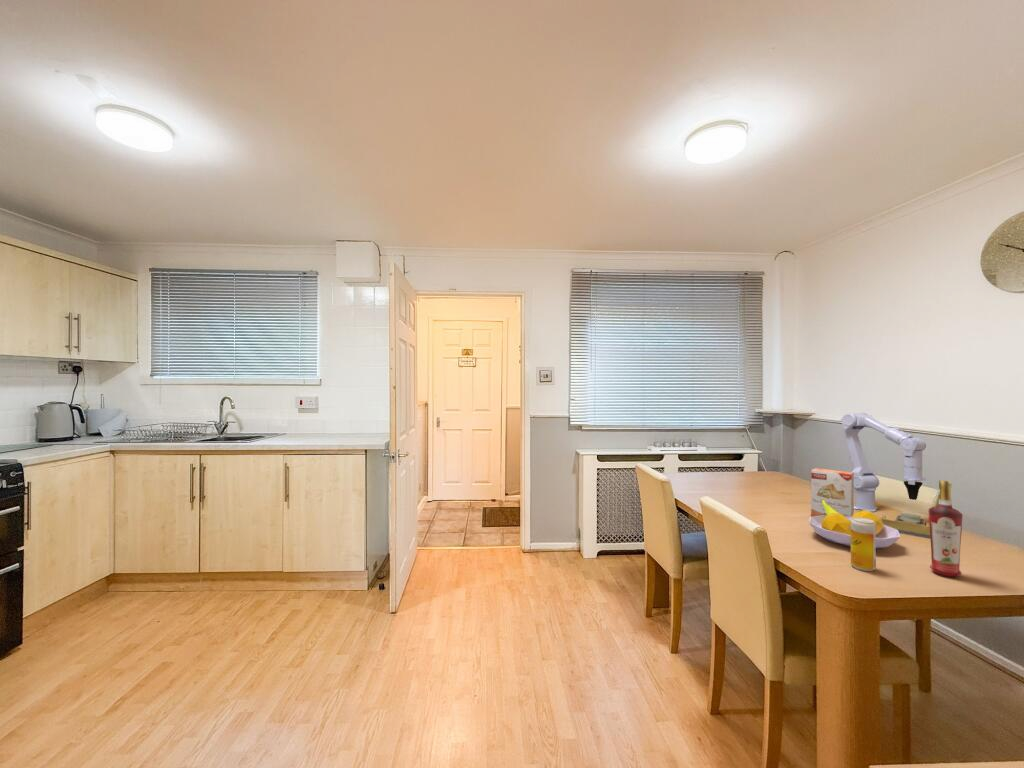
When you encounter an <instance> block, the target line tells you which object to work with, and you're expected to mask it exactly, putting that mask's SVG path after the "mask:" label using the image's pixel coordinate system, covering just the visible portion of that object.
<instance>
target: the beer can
mask: <svg viewBox="0 0 1024 768" xmlns="http://www.w3.org/2000/svg"><path fill="white" fill-rule="evenodd" d="M876 549H877V548H876V525H875V523H874V521H872V520H870V519H866V518H852V521H851V546H850V565H852V567H853V568H854V569H857V570H859V571H864V572H873V571H874V570H875V569H877V564H876V563H877V562H876V561H877V560H876V559H877V556H876V555H877V553H876V551H877V550H876Z"/></svg>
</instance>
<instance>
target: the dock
mask: <svg viewBox="0 0 1024 768" xmlns="http://www.w3.org/2000/svg"><path fill="white" fill-rule="evenodd" d="M880 518H881V519H882V523H883V525H886V526H889V527H891V528H894V529H896V530H898V532H899V534H904V535H908V536H914V537H920V538H925V539H930V540H931V538H930V527H929V525H926V526H924V525H918V524H912V523H906V522H900V521H895V520H892V519H887V515H885V514H884V515H882V516H881V517H880Z"/></svg>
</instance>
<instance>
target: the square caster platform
mask: <svg viewBox="0 0 1024 768" xmlns="http://www.w3.org/2000/svg"><path fill="white" fill-rule="evenodd" d="M921 517H922V516H921V514H918V513H913V512H904V511H901V512H900V514H898V515H897V516H896V518H895V520H894V521H900V522H906V523H912V524H918V525H924V526H927V519H924V518H921Z"/></svg>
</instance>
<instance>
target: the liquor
mask: <svg viewBox="0 0 1024 768" xmlns="http://www.w3.org/2000/svg"><path fill="white" fill-rule="evenodd" d="M938 486H939V487H938V489H939V497H938V505H936V506H932V507H930V508H928V524H929V525H928V526H929V527H930V538H931V539H930V538H929V539H930V553H931V554H930V555H931V564H930V566H929V568H930V569H931V570H932V571H933V572H934V573H935V574H937V575H938V576H941V577H945V578H957V577H958V576H961V575H962V572H961V570H960V566H961V565H960V562H961V560H960V559H961V540H962V531H963V530H962V529H963V513H962V512H961V511H960V510H957V509H956V508H953V504H952V496H951V495H952V494H951V491H952V481H949V480H948V481H947V480H938Z"/></svg>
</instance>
